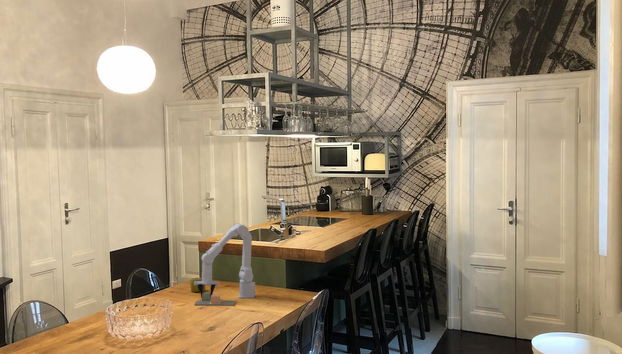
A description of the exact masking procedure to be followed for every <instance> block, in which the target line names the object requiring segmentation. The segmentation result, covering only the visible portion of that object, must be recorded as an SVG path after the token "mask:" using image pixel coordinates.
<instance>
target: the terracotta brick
mask: <svg viewBox="0 0 622 354" xmlns="http://www.w3.org/2000/svg"><path fill="white" fill-rule="evenodd" d="M210 301H211V303H214V304H219V302H220V301H221V294H218V293H217V294H215V293H214V294H212V295H211V300H210Z"/></svg>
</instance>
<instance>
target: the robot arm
mask: <svg viewBox="0 0 622 354" xmlns="http://www.w3.org/2000/svg"><path fill="white" fill-rule="evenodd" d="M238 236H239V237H240V238H241V239H242V255H241V257H242V258H241V266H240V269H239V273H238V278H239V294H238V297H237V298H239V299H242V298H243V299H255V296H256V281H253V279H254V274H253V269H252V266H251V265H252V244H253V243H252V242H253V236H252V234H251V232H250V231H249V228H248V227H247V225H245V224H241V223H234V224H233V225H232V227H230V228H229V229H228V231H227V232H226V233H225V234H224V235H223V237H222V238H221V239H220V240H219V242H216V243H215V242H214V243H212V244H211V247H210V248H209V249H208V250H206V251H205V253H203V254H202V256H201V258H200V259H201V262H202V265H201V278H202V281H194V285H198V289H199V291H200V292H199V294H200V299H202V293H203V285H205V286H210V292H211V294H210V298H211V295H212V294H213V293H214V290H215V288H216V286H220V284H221V283H220V281H216V280H213V263H214V261H215V258H216V257H218V255H219V254H220V253H221V252H222V251H223V247H224V246H225V245H226V244H227V243H228V242H229V241H230V240H231V239H232V238H235V237H238Z"/></svg>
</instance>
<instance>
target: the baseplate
mask: <svg viewBox="0 0 622 354" xmlns="http://www.w3.org/2000/svg"><path fill="white" fill-rule="evenodd" d="M235 304H236V300H220V302H219V304H214V303H211V300H210V301H202V300H196V301H195V303H194V306H217V307H218V306H219V307H220V306H223V307H224V306H225V307H226V306H228V307H229V306H235Z"/></svg>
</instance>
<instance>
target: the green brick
mask: <svg viewBox="0 0 622 354" xmlns="http://www.w3.org/2000/svg"><path fill="white" fill-rule="evenodd" d="M210 294H211V291H208V292H207V291H206V292H203V293H202V298H201V301H211V298H210Z"/></svg>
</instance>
